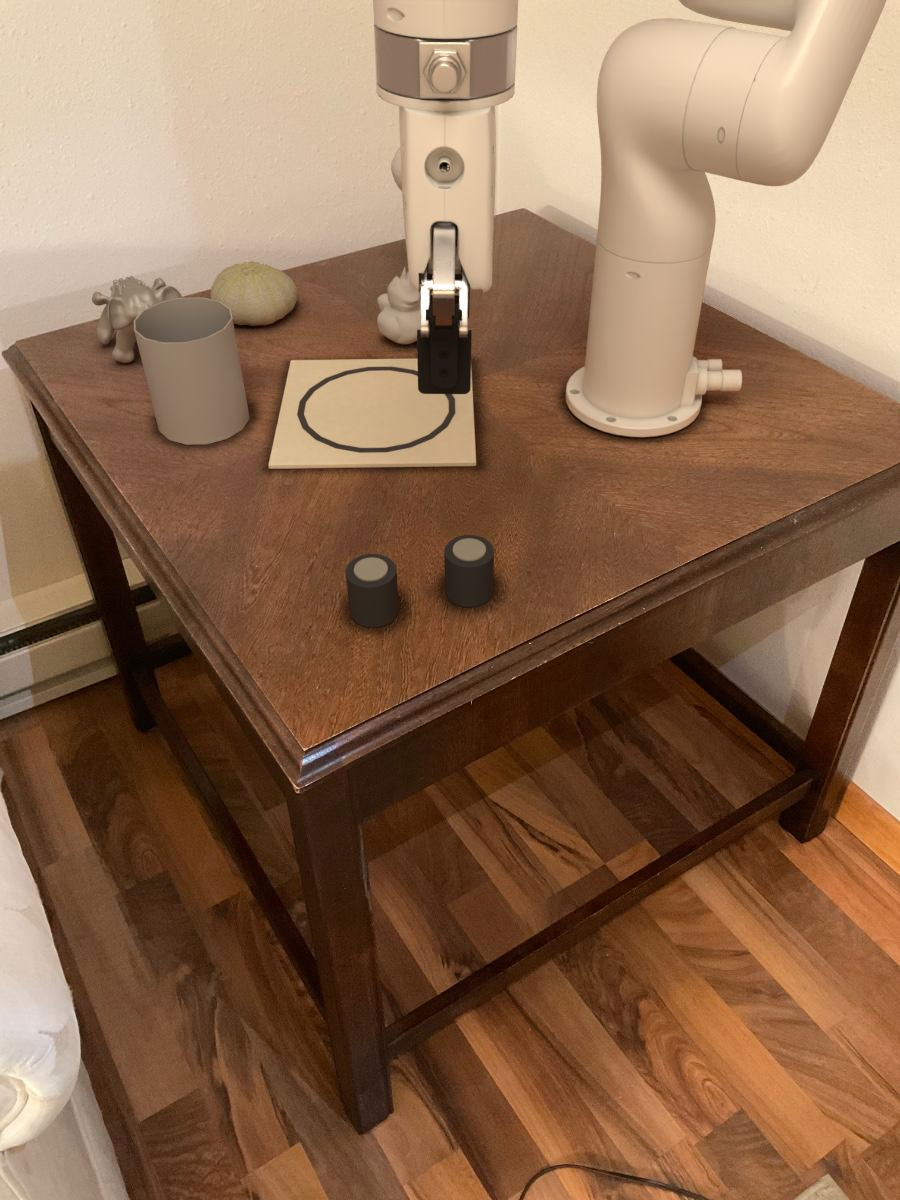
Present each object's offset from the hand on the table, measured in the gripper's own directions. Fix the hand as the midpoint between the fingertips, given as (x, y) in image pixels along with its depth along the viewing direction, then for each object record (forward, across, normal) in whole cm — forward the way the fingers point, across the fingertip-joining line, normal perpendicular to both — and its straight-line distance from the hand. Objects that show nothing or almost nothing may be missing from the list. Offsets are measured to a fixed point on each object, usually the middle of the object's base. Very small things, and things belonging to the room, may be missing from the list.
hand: (445, 353), depth 64 cm
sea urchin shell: (+18, +42, +21) cm, 50 cm away
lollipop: (+17, +50, +3) cm, 53 cm away
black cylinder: (+18, -3, -2) cm, 18 cm away
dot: (+18, -5, +5) cm, 20 cm away
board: (+18, +22, +7) cm, 29 cm away
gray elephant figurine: (+18, +32, +30) cm, 47 cm away
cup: (+18, +20, +22) cm, 35 cm away
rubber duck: (+18, +36, +5) cm, 40 cm away
